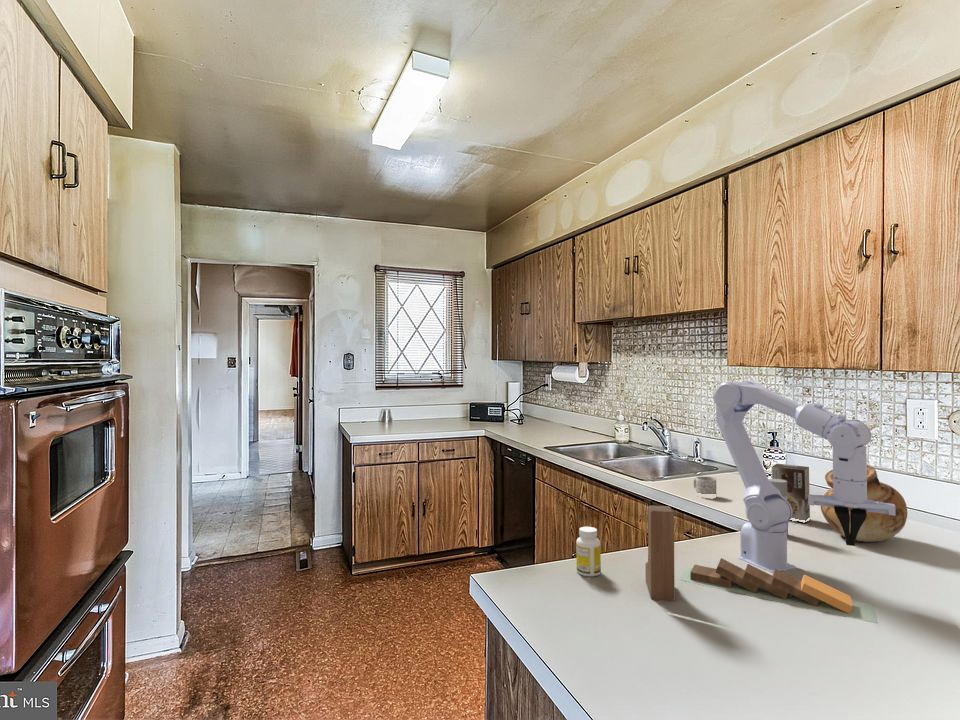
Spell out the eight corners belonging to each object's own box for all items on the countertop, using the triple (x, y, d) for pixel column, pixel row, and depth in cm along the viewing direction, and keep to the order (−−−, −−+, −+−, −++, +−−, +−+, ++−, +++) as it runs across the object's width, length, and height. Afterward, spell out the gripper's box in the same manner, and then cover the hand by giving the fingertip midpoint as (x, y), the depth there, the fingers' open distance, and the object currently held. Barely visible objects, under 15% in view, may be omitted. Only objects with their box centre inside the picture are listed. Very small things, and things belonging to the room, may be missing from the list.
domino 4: (816, 606, 97) (771, 584, 101) (816, 596, 101) (772, 575, 105) (819, 599, 97) (773, 577, 101) (819, 589, 101) (775, 568, 105)
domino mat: (679, 581, 109) (679, 579, 109) (686, 569, 116) (686, 567, 116) (877, 625, 91) (877, 623, 91) (872, 607, 98) (872, 605, 98)
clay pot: (804, 528, 145) (804, 459, 145) (864, 526, 147) (863, 458, 147) (860, 553, 126) (860, 473, 126) (928, 550, 128) (927, 471, 128)
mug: (720, 498, 178) (720, 480, 178) (704, 499, 176) (704, 481, 177) (701, 491, 188) (701, 474, 188) (686, 492, 186) (686, 475, 186)
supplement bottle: (597, 567, 117) (597, 525, 117) (603, 577, 112) (603, 532, 112) (574, 567, 117) (574, 525, 117) (579, 577, 111) (579, 533, 112)
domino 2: (755, 593, 103) (715, 572, 107) (757, 584, 107) (718, 564, 111) (758, 586, 102) (717, 565, 106) (760, 577, 107) (721, 557, 111)
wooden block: (645, 582, 109) (645, 499, 109) (667, 584, 108) (666, 500, 108) (651, 601, 100) (650, 510, 100) (674, 603, 99) (674, 512, 99)
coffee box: (810, 519, 154) (810, 466, 154) (806, 524, 149) (805, 469, 149) (777, 513, 160) (776, 462, 160) (771, 517, 155) (771, 465, 156)
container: (778, 537, 137) (778, 482, 137) (764, 532, 142) (764, 479, 142) (792, 536, 138) (791, 481, 139) (777, 530, 143) (777, 478, 143)
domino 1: (731, 588, 105) (690, 579, 109) (734, 579, 109) (694, 571, 114) (731, 580, 105) (690, 572, 109) (733, 572, 109) (694, 564, 114)
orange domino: (849, 613, 94) (801, 590, 98) (847, 603, 98) (801, 581, 103) (852, 606, 94) (804, 583, 98) (850, 596, 98) (804, 574, 102)
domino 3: (785, 600, 100) (742, 578, 104) (786, 590, 104) (745, 570, 108) (788, 592, 100) (745, 571, 104) (789, 583, 104) (747, 563, 108)
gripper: (808, 478, 105) (808, 543, 105) (897, 487, 97) (898, 557, 97) (807, 472, 111) (808, 533, 111) (892, 480, 103) (892, 546, 103)
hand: (850, 544), depth 104 cm, fingers closed
